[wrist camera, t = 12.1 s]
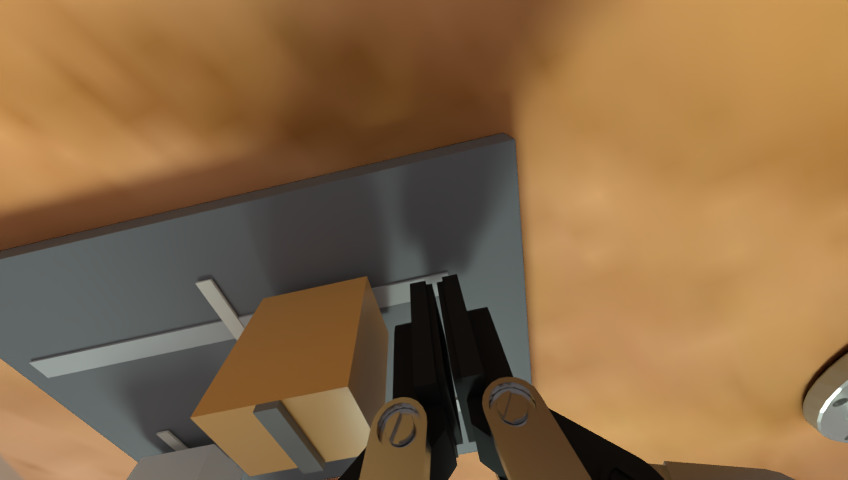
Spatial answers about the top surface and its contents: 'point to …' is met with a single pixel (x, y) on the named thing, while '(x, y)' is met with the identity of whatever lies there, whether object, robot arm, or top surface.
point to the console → (256, 285)
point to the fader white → (187, 466)
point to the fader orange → (301, 381)
